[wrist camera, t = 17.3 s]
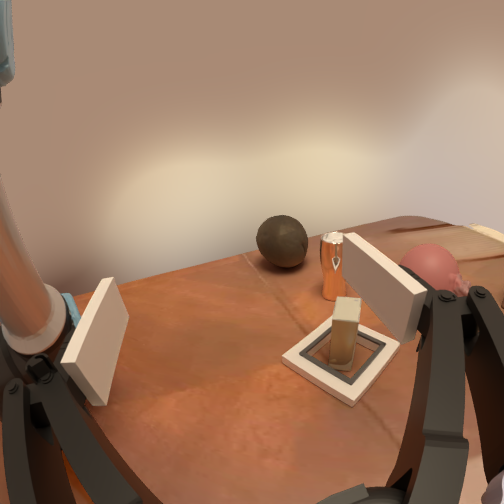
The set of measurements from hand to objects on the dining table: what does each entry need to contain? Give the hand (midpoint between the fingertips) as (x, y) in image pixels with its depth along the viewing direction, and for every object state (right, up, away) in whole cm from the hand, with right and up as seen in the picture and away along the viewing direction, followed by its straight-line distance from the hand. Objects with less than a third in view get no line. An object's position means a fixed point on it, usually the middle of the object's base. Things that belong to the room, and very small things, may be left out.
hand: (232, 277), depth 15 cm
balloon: (+41, -12, +38) cm, 57 cm away
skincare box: (+18, -18, +32) cm, 41 cm away
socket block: (+18, -18, +32) cm, 41 cm away
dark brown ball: (+11, -3, +67) cm, 68 cm away
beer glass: (+21, -9, +51) cm, 56 cm away
